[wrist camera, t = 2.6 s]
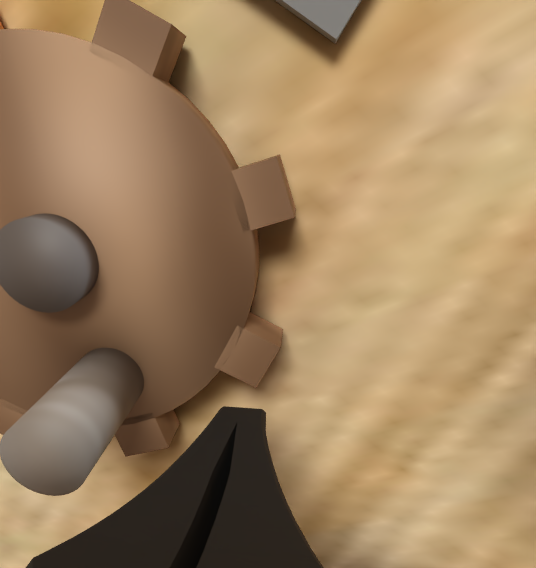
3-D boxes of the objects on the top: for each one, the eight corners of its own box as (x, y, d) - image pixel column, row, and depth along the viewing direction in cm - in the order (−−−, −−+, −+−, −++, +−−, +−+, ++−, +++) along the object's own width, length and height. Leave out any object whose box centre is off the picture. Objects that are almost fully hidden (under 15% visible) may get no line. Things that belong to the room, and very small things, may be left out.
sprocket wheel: (203, -106, 11) (114, -310, 6) (347, 387, 16) (366, 507, 11) (-228, 94, 14) (-533, 69, 9) (-1, 461, 18) (-117, 584, 13)
